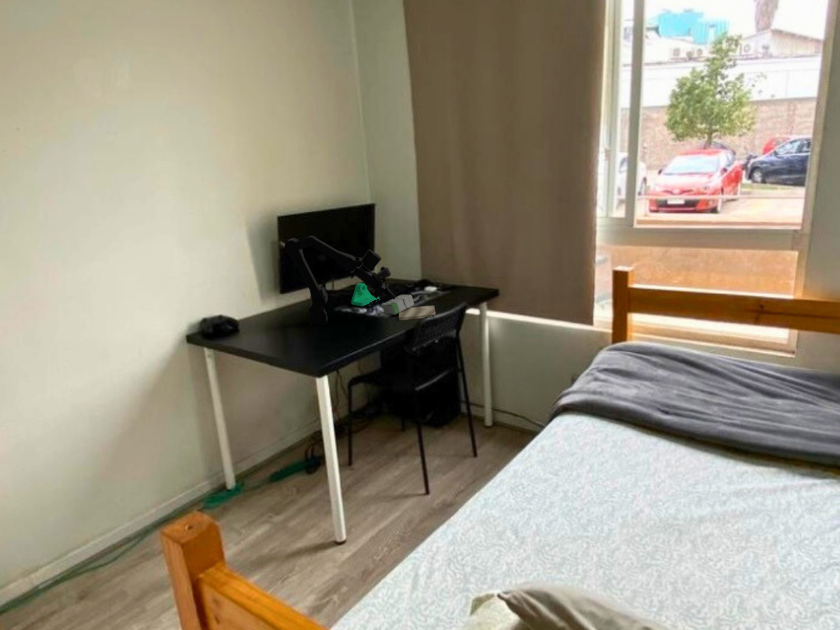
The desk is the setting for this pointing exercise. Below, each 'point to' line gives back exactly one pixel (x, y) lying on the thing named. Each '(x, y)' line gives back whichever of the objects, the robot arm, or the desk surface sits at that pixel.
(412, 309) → the birch board
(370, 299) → the camera mount
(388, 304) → the ink box
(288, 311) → the desk surface
